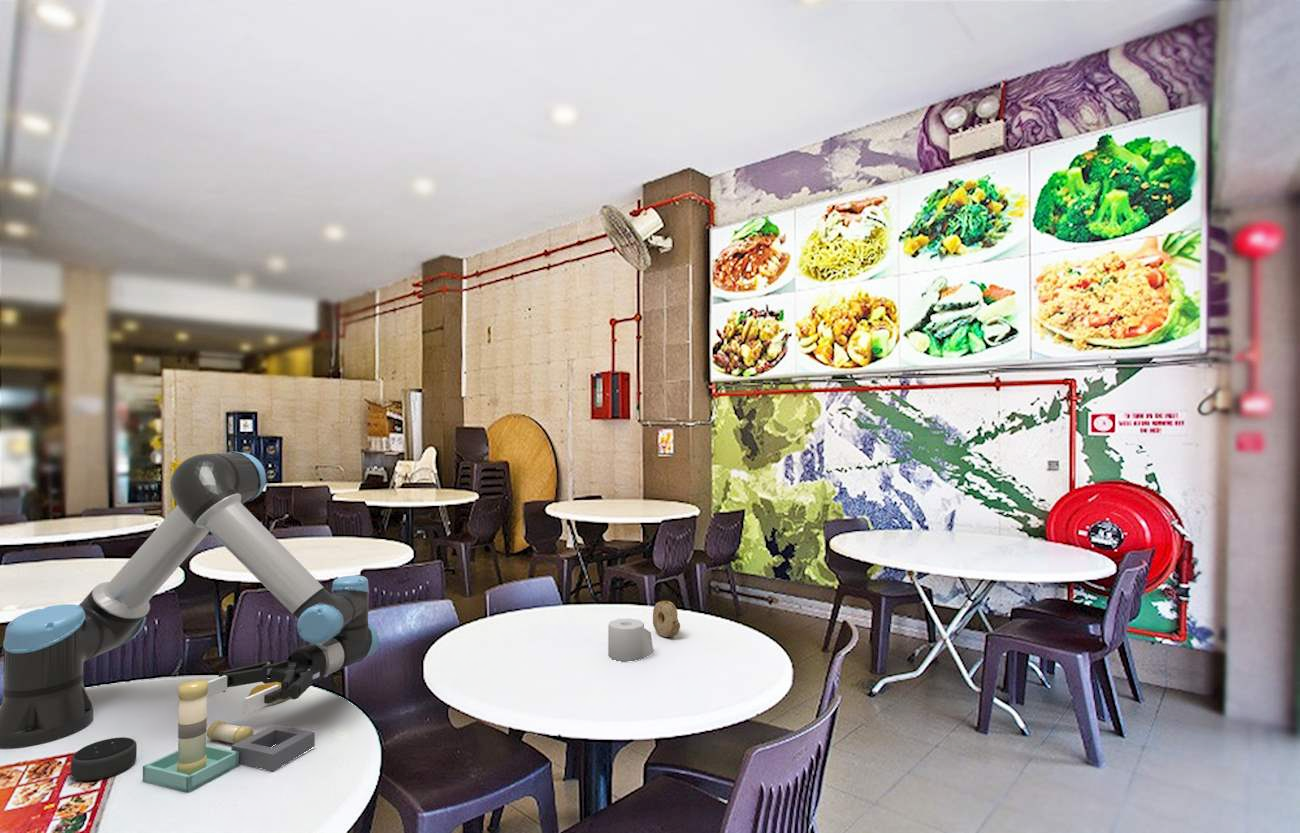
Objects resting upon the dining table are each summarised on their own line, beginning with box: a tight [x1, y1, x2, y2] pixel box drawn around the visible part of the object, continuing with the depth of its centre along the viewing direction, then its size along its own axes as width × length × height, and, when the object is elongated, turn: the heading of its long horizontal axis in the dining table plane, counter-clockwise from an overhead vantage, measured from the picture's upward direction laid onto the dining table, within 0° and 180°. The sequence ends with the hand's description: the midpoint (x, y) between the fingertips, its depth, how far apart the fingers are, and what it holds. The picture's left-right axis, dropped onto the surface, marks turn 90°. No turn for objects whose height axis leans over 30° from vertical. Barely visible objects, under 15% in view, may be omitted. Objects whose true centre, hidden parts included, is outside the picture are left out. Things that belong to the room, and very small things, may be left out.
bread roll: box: [247, 682, 291, 705], centre depth 144 cm, size 8×9×4 cm
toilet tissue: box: [607, 618, 654, 663], centre depth 173 cm, size 9×13×9 cm
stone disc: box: [652, 600, 681, 638], centre depth 189 cm, size 10×4×10 cm, turn 35°
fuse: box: [206, 720, 255, 744], centre depth 125 cm, size 8×3×3 cm, turn 71°
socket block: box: [230, 723, 316, 772], centre depth 119 cm, size 10×9×3 cm
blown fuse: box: [177, 678, 209, 775], centre depth 113 cm, size 4×4×15 cm
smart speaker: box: [70, 736, 138, 782], centre depth 114 cm, size 9×9×4 cm
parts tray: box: [142, 744, 240, 794], centre depth 113 cm, size 11×9×2 cm
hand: (218, 700), depth 117 cm, fingers open, 13 cm apart
